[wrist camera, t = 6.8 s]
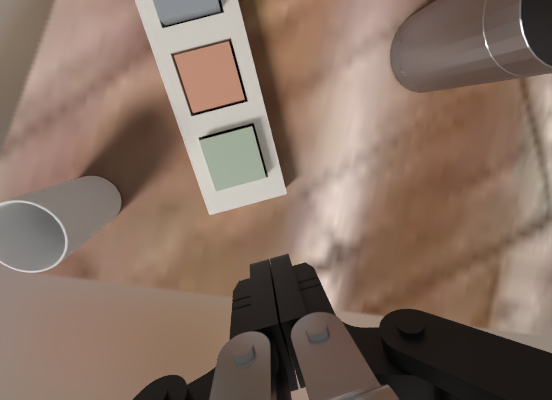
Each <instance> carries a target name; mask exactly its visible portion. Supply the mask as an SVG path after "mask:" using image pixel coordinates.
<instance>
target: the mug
mask: <svg viewBox="0 0 552 400" xmlns="http://www.w3.org/2000/svg"><path fill="white" fill-rule="evenodd" d="M120 209H121V196H120V193H119V191H118V190H117V188H116V187H115V186H114V185H113V184H112V183H111V182H110V181H108V180H106V179H104V178H102V177H98V176H84V177H81V178H77V179H73V180H70V181H67V182H64V183H61V184H58V185H55V186H51V187H48V188H45V189H42V190H38V191H35V192H32V193H29V194H25V195H22V196H19V197H16V198H13V199H10V200H7V201H4V202H1V203H0V263H2V264H3V265H5V266H7V267H9V268H11V269H14V270H18V271H22V272H42V271H45V270H48V269H51V268H53V267H54V266H56V265H57V264H58V263H60V262H61V261H62V260H64V259H65V258H66V257H68V256H69V255H70V254H71V253H73V252H74V251H75V250H76V249H77V248H79V247H80V246H81V245H82V244H83V243H85V242H86V241H87V240H88V239H90V238H91V237H92V236H93V235H94V234H96V233H97V232H98V231H99V230H101V229H102V228H103V227H104V226H106V225H107V224H108V223H109V222H110V221H111V220H112V219H114V218H115V217H116V216H117V214H118V213H119V211H120Z"/></svg>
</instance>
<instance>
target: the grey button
mask: <svg viewBox="0 0 552 400" xmlns="http://www.w3.org/2000/svg"><path fill="white" fill-rule="evenodd" d="M153 1H154V4H155V7H156V10H157V13H158V16H159V19H160V20H161V22H162V23H163V24H164V25H165V26H167V25H171V24H175V23H179V22H183V21H186V20H190V19H194V18H198V17H202V16H206V15H210V14H214V13H218V12H221V10H220V6H219V2H218V0H153Z"/></svg>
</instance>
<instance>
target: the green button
mask: <svg viewBox="0 0 552 400" xmlns="http://www.w3.org/2000/svg"><path fill="white" fill-rule="evenodd" d="M200 143H201V146H202V149H203V152H204V155H205V158H206V161H207V164H208V167H209V170H210V173H211V177H212V180H213V183H214V186H215V189H216V191H220V190H223V189H227V188H230V187H234V186H238V185H241V184H245V183H249V182H252V181H256V180H260V179H263V178H266V175H265V171H264V168H263V164H262V160H261V157H260V153H259V149H258V146H257V142H256V138H255V135H254V131H253V127H252V126H250V127H246V128H242V129H239V130H235V131H231V132H227V133H224V134H220V135H216V136H212V137H209V138H205V139H202V140H200Z"/></svg>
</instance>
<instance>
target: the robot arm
mask: <svg viewBox="0 0 552 400" xmlns="http://www.w3.org/2000/svg"><path fill="white" fill-rule="evenodd" d="M390 58H391V66H392V70H393V72H394V75H395V77H396V78H397V80H398V81H399V82H400V84H402V85H403V86H404V87H405V88H407V89H409V90H411V91H415V92H430V91H437V90H444V89H451V88H458V87H465V86H471V85H478V84H484V83H491V82H498V81H504V80H511V79H517V78H524V77H530V76H537V75H542V74H549V73H552V0H436V1H434V2H432V3H431V4H429V5H428V6H426V7H424V8H423V9H421V10H420V11H418V12H416V13H415V14H413V15H412V16H410V17H409V18H408V19H407V20H405V21H404V23H403V24H402V25H401V26H400V27H399V29H398V31H397V33H396V34H395V37H394V39H393V42H392V46H391V52H390ZM270 262H271V265H270ZM270 262H269V259H268V260H264V261H260V262H257V263H253V264H250V278H249V279H245V280H242V281H239V282H238V284H237V286H236V287H235V289H234V291H233V300H232V301H233V303H232V315H231V327H230V340H229V341H228V342H227V343H226V344H225V345H224V347H223V348H222V350H221V351H220V353H219V355H218V359H217V365H216V367H215V368H214V369H212V370H211V371H210V372H208V373H207V374H205V375H203V376H202V377H200V378H198V379H196V380H195V381H193V382H191V383H190V384H188V385H187V384H186V382H185V380H184V379H183V378H182V377H180V376H178V375H168V376H164V377H161V378H159V379H157V380H155V381H153V382H152V383H150V384H149V385H147V386H146V387H145V388H144V389H143V390H142V391H141V392H140V393H139V394H138V395H137V396H136V397H135V398H134V399H133V400H292V399H291V393H290V392H291V391H294V390H298V385H297V379H296V375H297V378H298V381H299V384H300V387H301V388H304V387H306V390H307V394H308V397H309V400H552V353H549V352H546V351H543V350H540V349H537V348H533V347H531V346H528V345H524V344H521V343H518V342H515V341H512V340H509V339H506V338H503V337H500V336H496V335H494V334H491V333H488V332H484V331H482V330H478V329H475V328H472V327H469V326H466V325H463V324H460V323H457V322H454V321H451V320H448V319H445V318H441V317H438V316H435V315H432V314H429V313H426V312H423V311H419V310H414V309H400V310H396V311H393V312H390V313H388V314H387V315H386V316H385V317H384V318H383V319H382V320H381V322H380V326H379V328H360V327H354V326H350V325H348V324H345V323H344V322H342V321H341V320H340V319H339V318H338V317H337V316H336V315H335V313H334V311H333V309H332V307H331V304H330V302H329V300H328V298H327V296H326V293H325V291H324V289H323V287H322V285H321V282H320V280H319V278H318V276H317V274H316V271H315V269H314V268H313V267H312V266H310V265H308V264H307V263H302V264H298V265H295V266H292V264H291V261H290V258H289V254H285V255H282V256H278V257H274V258H271V259H270ZM294 368H295V369H294ZM295 371H296V374H295Z"/></svg>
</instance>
